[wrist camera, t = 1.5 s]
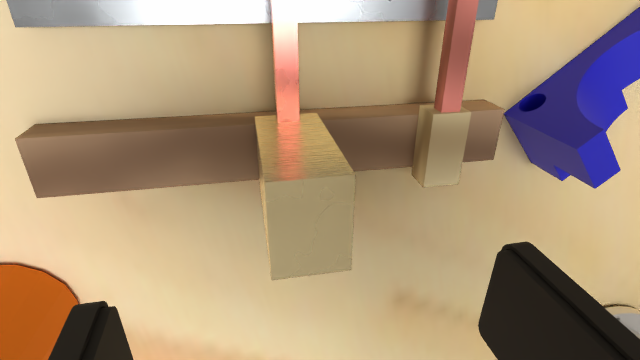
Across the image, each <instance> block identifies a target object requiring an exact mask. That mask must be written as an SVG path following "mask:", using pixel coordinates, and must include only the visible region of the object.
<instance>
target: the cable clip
mask: <svg viewBox="0 0 640 360" xmlns="http://www.w3.org/2000/svg"><path fill="white" fill-rule="evenodd" d="M638 79H640V7H639V8H638V9H636V10H635V11H634V12H633V13H631V14H630V15H629V16H627V17H626V18H625V19H624V20H622V21H621V22H620V23H618V24H617V25H616V26H615V27H613V28H612V29H611V30H610V31H608V32H607V33H606V34H604V35H603V36H602V37H601V38H599V39H598V40H597V41H596V42H594V43H593V44H592V45H590V46H589V47H588V48H587V49H585V50H584V51H583V52H582V53H580V54H579V55H578V56H576V57H575V58H574V59H573V60H571V61H570V62H569V63H568V64H566V65H565V66H564V67H562V68H561V69H560V70H559V71H557V72H556V73H555V74H553V75H552V76H551V77H550V78H548V79H547V80H546V81H545V82H543V83H542V84H541V85H539V86H538V87H537V88H536V89H534V90H533V91H532V92H531V93H529V94H528V95H527V96H525V97H524V98H523V99H522V100H520V101H519V102H518V103H517V104H515V105H514V106H513V107H511V108H510V109H509V110H508V111H506V112H505V113H504V115H505V117H506V119H507V121H508V122H509V124H510V126H511V128H512V129H513V131H514V133H515V135H516V137H517V138H518V140H519V142H520V144H521V145H522V147H523V149H524V151H525V153H526V154H527V156H528V158H529V160H530V162H531V163H533V164H535V165H536V166H538V167H540V168H541V169H543V170H544V171H546V172H548V173H549V174H551V175H553V176H554V177H556V178H558V179H559V180H561V181H563V180H564V179H566V178H567V177H568V176H570V175H572V176H574V177H576V178H577V179H579V180H581V181H583V182H584V183H586V184H588V185H590V186H591V187H593V188H597V187H598V186H600V185H601V184H602V183H604V182H605V181H607V180H608V179H609V178H611V177H612V176H613V175H615V174H616V173H618V172H619V171H620V167H619V165H618V162H617V160H616V157H615V155H614V152H613V150H612V147H611V145H610V142H609V140H608V138H607V135H606V131H607V129H608V128H609V127H610V125H611V124H612V123H613V122H614V120H615V119H616V118H617V117H618V116H619V115H621V114H622V113H623V112H624V111H625V110H627V109H628V107H627V104H626V101H625V99H624V96H623V93H622V89H624V88H625V87H627V86H628V85H630V84H631V83H633V82H635V81H636V80H638Z"/></svg>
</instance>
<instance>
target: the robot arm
mask: <svg viewBox="0 0 640 360" xmlns="http://www.w3.org/2000/svg"><path fill="white" fill-rule="evenodd" d="M478 326H479V332H480V334H481V336H482V338H483V339H484V341H485V342H486V344H487V345H488V346H489V348H490V349H491V351H492V352H493V354H494V355H495V356H496V358H497V359H498V360H640V311H639V310H637V309H635V308H631V307H624V306H615V307H607V308H604V307H603V306H602V305H601V304H599V303H598V302H597V301H596V300H595V299H594V298H593V297H591V296H590V295H589V294H588V293H587V292H586V291H585V290H584V289H582V288H581V287H580V286H579V285H578V284H577V283H576V282H574V281H573V280H572V279H571V278H570V277H569V276H568V275H567V274H565V273H564V272H563V271H562V270H561V269H560V268H559V267H557V266H556V265H555V264H554V263H553V262H552V261H551V260H549V259H548V258H547V257H546V256H545V255H544V254H543V253H542V252H540V251H539V250H538V249H537V248H536V247H535V246H534V245H532V244H531V243H529V242H520V243H513V244H507V245H504V246H503V247H502V250H501V251H499V252H498V254H497V257H496V260H495V264H494V268H493V271H492V275H491V279H490V282H489V286H488V290H487V293H486V297H485V301H484V304H483V308H482V312H481V316H480V319H479V324H478ZM48 360H133V357H132V354H131V350H130V347H129V344H128V341H127V338H126V335H125V332H124V329H123V326H122V323H121V320H120V317H119V314H118V311H117V308H116V307H115V306H113V307H108V305H107V303H106V302H105V301H100V302H93V303H85V304H78V305H75V306H73V307H72V309H71V311H70V313H69V315H68V317H67V319H66V321H65V324H64V326H63V328H62V330H61V332H60V334H59V337H58V339H57V341H56V343H55V345H54V348H53V350H52V352H51V354H50V356H49V358H48Z"/></svg>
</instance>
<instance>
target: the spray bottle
mask: <svg viewBox="0 0 640 360" xmlns="http://www.w3.org/2000/svg"><path fill="white" fill-rule="evenodd" d="M75 305H78V301H77V299H76V298H75V297H74V296H73V294H72V293H71V292H70V290H69V289H68V288H67V287H66V285H65V284H63V283H62V282H60V281H58V280H57V279H55V278H53V277H52V276H50V275H48V274H47V273H45V272H43V271H39V270H35V269H31V268H27V267H24V266H20V265H0V360H48V358H49V356H50V354H51V352H52V350H53V348H54V345H55V343H56V341H57V339H58V337H59V334H60V332H61V330H62V328H63V326H64V324H65V321H66V319H67V317H68V315H69V313H70V311H71V309H72V307H73V306H75Z"/></svg>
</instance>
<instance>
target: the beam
mask: <svg viewBox="0 0 640 360" xmlns="http://www.w3.org/2000/svg"><path fill="white" fill-rule="evenodd" d="M478 2H479V0H449V2H448V9H447V16H446V24H445V31H444V38H443V46H442V53H441V60H440V68H439V75H438V82H437V90H436V97H435V102H434V103H416V104H398V105H380V106H361V107H343V108H325V109H307V110H299V111H300V114H305V113H317V114H318V116H319V117H320V119H321V120H322V122H323V124H324V125H325V127H326V128H327V130H328V132H329V133H330V135H331V136H332V138H333V140H334V141H335V143H336V144H337V146H338V147H339V149H340V151H341V152H342V154H343V155H344V157H345V159H346V160H347V162H348V163H349V165H350V167H351V168H352V170H353V171H365V170H377V169H388V168H400V167H412V166H413V167H412V176H413V177H414V178H415V179H416V180H417V181H418V182H419V183H420V184H421V185H422V186H423V187H435V186H445V185H456V184H458V183H459V178H460V172H461V167H462V162H471V161H483V160H493V159H494V155H495V150H496V146H497V141H498V137H499V132H500V128H501V123H502V119H503V114H504V109H503V108H500V107H498V106H496V105H494V104H492V103H490V102H488V101H486V100H470V101H462V97H463V91H464V85H465V79H466V73H467V67H468V61H469V55H470V50H471V44H472V38H473V32H474V26H475V20H476V14H477V8H478ZM270 115H276V111H271V112H252V113H234V114H216V115H198V116H180V117H162V118H143V119H125V120H107V121H89V122H71V123H52V124H35V125H34V126H32V127H31V128H29V129H28V130H27V131H25V132H24V133H22V134H21V135H20V136H18V137H17V138H15V141H16V143H17V146H18V149H19V151H20V154H21V157H22V159H23V162H24V165H25V167H26V170H27V173H28V176H29V178H30V181H31V184H32V186H33V189H34V192H35V194H36V197H37V198H45V197H56V196H68V195H80V194H92V193H104V192H116V191H128V190H139V189H151V188H163V187H175V186H187V185H199V184H211V183H222V182H234V181H246V180H258V179H259V167H258V154H257V141H256V128H255V116H270Z"/></svg>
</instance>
